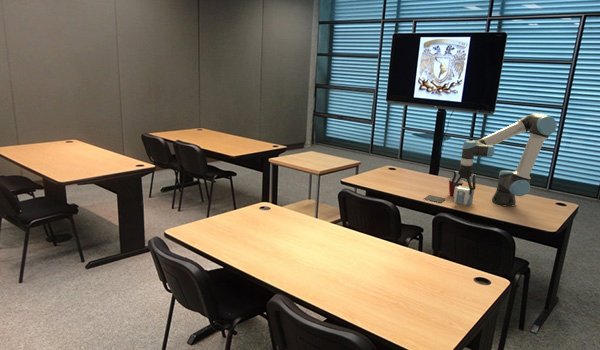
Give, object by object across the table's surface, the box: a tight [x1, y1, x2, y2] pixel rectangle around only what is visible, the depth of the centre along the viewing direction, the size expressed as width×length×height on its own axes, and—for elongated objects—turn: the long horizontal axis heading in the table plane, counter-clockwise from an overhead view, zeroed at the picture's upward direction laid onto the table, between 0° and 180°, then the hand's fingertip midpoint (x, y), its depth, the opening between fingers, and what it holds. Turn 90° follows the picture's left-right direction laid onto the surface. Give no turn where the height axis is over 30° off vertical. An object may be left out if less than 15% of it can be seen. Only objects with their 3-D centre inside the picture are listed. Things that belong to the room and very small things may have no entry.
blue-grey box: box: [455, 185, 475, 207], centre depth 292 cm, size 10×16×11 cm, turn 146°
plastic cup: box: [448, 177, 465, 197], centre depth 311 cm, size 11×11×12 cm
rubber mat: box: [423, 194, 447, 204], centre depth 302 cm, size 12×12×1 cm
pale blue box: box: [453, 187, 469, 206], centre depth 288 cm, size 8×4×10 cm, turn 56°
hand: (461, 197), depth 288 cm, fingers closed on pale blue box, 8 cm apart
